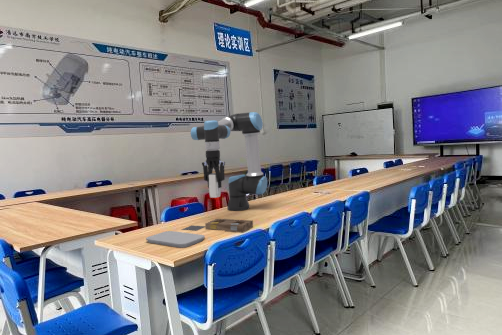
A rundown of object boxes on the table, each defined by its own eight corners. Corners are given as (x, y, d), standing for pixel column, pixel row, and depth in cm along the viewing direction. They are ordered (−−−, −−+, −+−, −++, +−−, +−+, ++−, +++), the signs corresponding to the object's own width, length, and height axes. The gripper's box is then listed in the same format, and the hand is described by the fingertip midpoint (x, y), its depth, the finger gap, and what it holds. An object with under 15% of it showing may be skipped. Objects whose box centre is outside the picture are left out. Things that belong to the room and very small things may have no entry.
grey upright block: (210, 197, 187) (208, 173, 186) (214, 196, 190) (212, 173, 190) (216, 197, 185) (214, 173, 184) (220, 196, 189) (219, 173, 188)
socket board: (217, 224, 196) (216, 218, 196) (252, 227, 187) (252, 220, 187) (205, 230, 185) (205, 223, 185) (242, 232, 176) (242, 225, 176)
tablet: (168, 234, 181) (168, 230, 181) (207, 240, 167) (207, 235, 166) (143, 243, 167) (143, 238, 167) (183, 249, 153) (183, 244, 153)
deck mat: (191, 226, 196) (191, 225, 196) (206, 227, 192) (206, 226, 192) (180, 230, 187) (180, 229, 187) (196, 231, 183) (196, 230, 183)
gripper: (195, 150, 187) (197, 194, 188) (222, 149, 179) (224, 195, 180) (203, 150, 193) (206, 192, 195) (230, 149, 185) (232, 193, 187)
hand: (215, 193), depth 188 cm, fingers closed on grey upright block, 4 cm apart
